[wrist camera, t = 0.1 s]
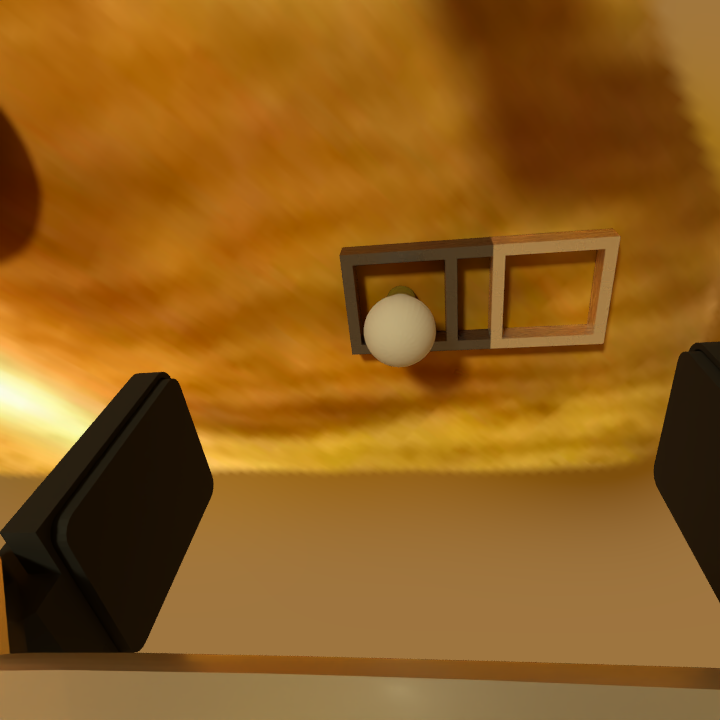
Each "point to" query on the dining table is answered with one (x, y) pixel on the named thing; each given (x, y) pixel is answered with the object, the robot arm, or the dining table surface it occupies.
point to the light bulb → (399, 329)
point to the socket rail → (491, 286)
